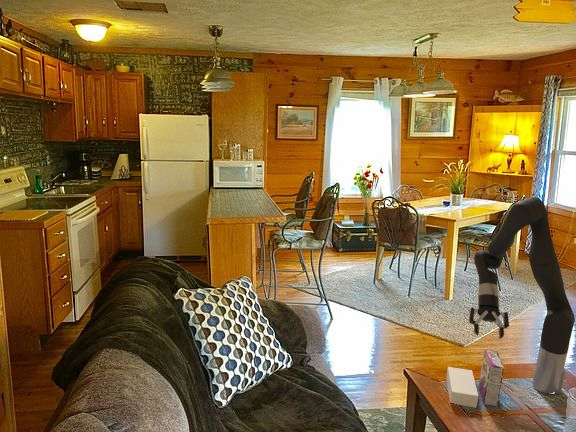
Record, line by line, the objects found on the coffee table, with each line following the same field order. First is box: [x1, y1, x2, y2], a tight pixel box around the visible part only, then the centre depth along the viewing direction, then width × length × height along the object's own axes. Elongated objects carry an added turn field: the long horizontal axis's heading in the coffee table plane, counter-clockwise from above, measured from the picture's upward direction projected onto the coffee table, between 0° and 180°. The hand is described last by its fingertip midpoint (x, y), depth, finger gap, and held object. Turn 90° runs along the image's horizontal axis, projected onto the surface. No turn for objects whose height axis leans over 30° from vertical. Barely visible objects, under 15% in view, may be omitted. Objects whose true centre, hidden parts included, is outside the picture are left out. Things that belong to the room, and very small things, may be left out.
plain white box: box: [445, 366, 479, 409], centre depth 177 cm, size 9×16×5 cm, turn 167°
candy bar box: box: [478, 349, 505, 407], centre depth 173 cm, size 11×5×16 cm, turn 168°
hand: (489, 336), depth 182 cm, fingers open, 8 cm apart
